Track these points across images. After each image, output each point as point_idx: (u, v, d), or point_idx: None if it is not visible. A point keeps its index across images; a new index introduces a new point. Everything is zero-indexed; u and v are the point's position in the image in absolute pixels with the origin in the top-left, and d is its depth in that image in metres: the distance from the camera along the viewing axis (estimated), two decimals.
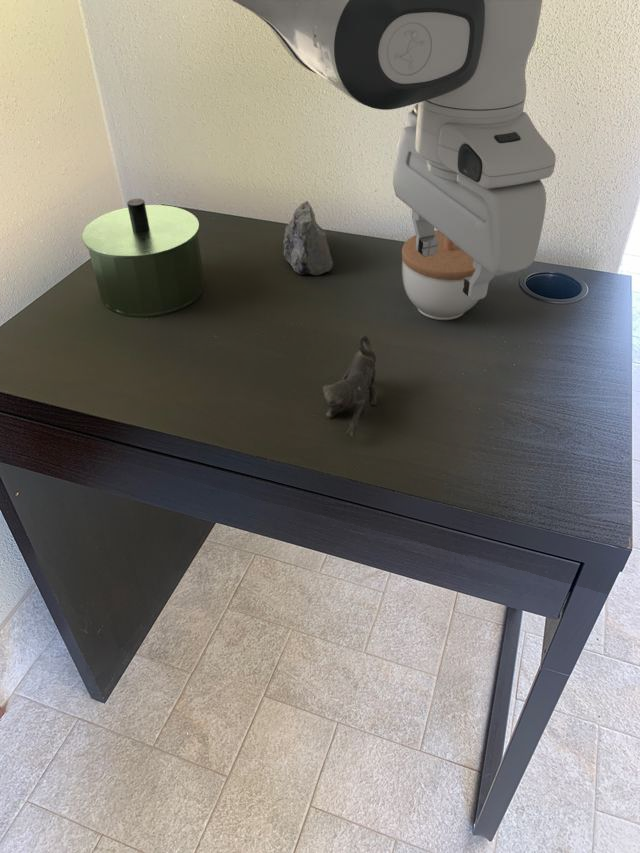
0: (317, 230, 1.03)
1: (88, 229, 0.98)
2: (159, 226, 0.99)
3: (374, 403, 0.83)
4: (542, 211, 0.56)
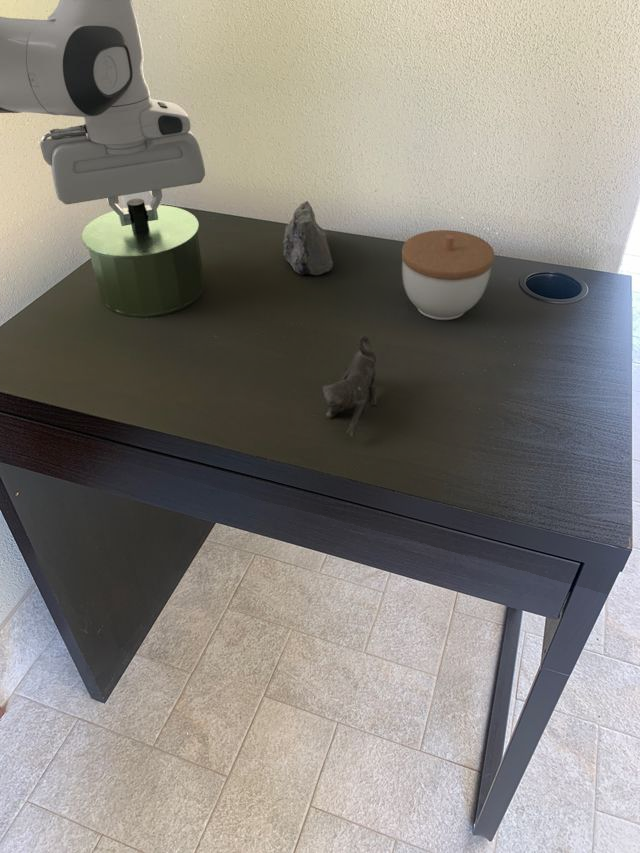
0: (317, 230, 1.03)
1: (88, 229, 0.98)
2: (159, 226, 0.99)
3: (374, 403, 0.83)
4: None
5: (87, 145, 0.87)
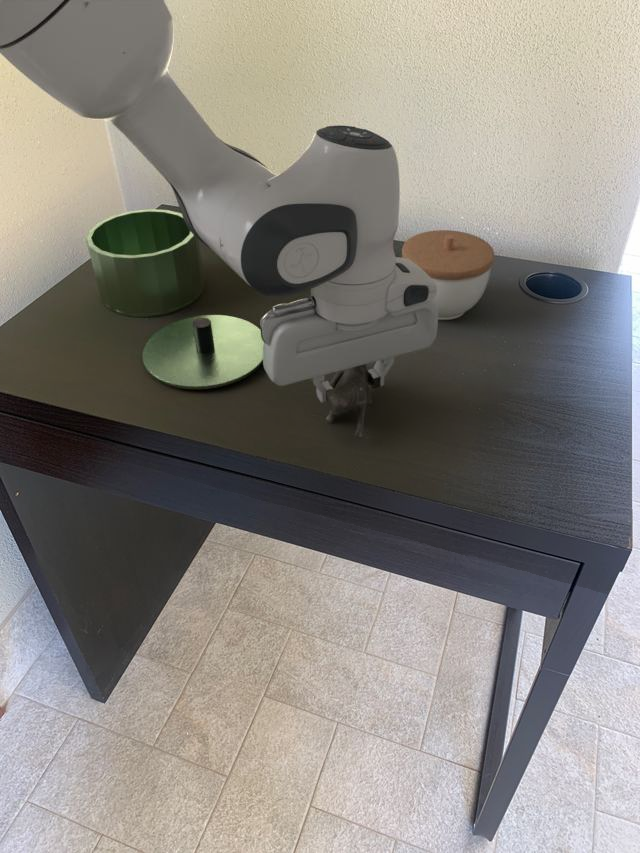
0: None
1: (148, 348, 0.91)
2: (224, 345, 0.92)
3: (370, 402, 0.83)
4: None
5: (316, 322, 0.71)
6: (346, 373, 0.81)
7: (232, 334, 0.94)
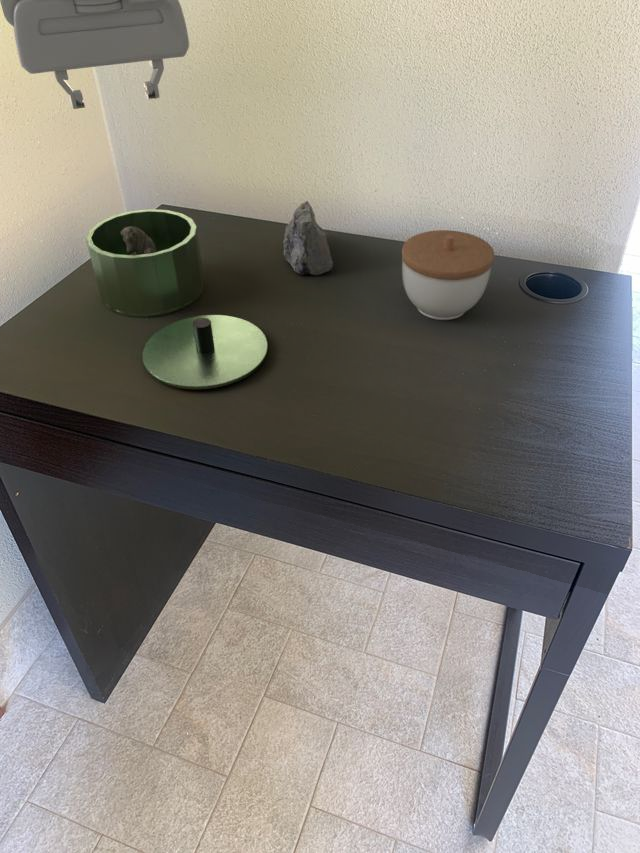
0: (317, 230, 1.03)
1: (148, 348, 0.91)
2: (224, 345, 0.92)
3: None
4: None
5: (53, 0, 0.77)
6: None
7: (232, 334, 0.94)
